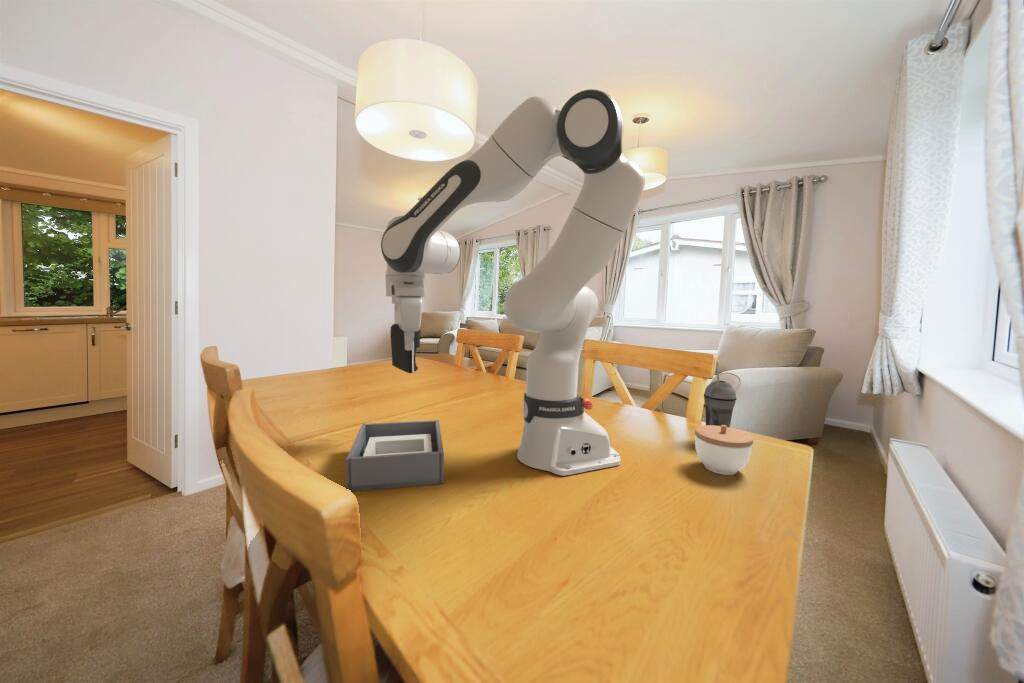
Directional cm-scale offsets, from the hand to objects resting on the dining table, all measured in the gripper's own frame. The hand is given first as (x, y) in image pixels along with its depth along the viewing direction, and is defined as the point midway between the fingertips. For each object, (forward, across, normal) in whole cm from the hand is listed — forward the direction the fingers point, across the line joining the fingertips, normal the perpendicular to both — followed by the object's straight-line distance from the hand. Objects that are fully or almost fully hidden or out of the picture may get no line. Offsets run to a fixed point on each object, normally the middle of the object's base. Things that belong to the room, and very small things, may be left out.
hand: (406, 348), depth 92 cm
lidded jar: (+24, +37, +60) cm, 74 cm away
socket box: (+23, +14, -3) cm, 27 cm away
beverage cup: (+24, +25, +73) cm, 80 cm away
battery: (+5, -3, 0) cm, 6 cm away
